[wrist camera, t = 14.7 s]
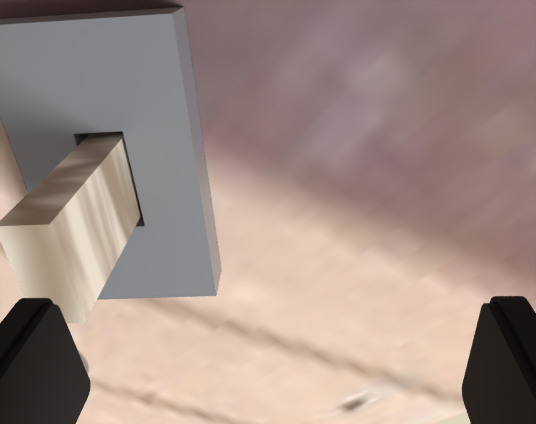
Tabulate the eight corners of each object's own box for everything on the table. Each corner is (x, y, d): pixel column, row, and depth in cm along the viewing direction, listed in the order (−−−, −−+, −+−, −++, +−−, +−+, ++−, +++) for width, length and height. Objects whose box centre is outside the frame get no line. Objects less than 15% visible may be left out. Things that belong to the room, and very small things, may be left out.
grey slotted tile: (183, 6, 33) (172, 13, 29) (221, 269, 45) (216, 295, 41) (-2, 18, 34) (-34, 27, 30) (84, 273, 46) (68, 300, 42)
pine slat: (135, 122, 37) (49, 224, 24) (150, 196, 41) (84, 322, 27) (99, 124, 38) (-6, 226, 24) (118, 198, 41) (36, 324, 27)
